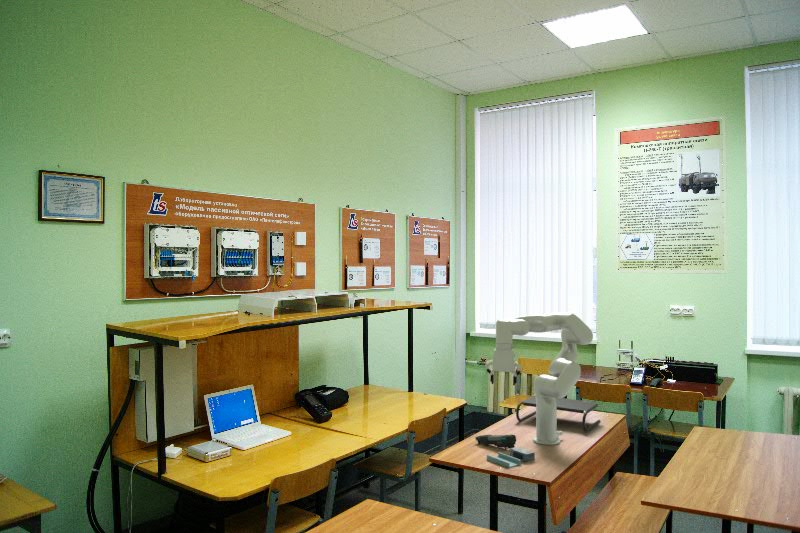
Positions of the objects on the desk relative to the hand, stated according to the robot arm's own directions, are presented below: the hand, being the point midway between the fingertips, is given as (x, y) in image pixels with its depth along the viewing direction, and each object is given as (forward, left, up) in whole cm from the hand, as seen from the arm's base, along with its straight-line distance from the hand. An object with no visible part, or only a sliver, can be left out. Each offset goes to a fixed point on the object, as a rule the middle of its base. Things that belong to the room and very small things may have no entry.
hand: (503, 384), depth 261 cm
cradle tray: (+12, +13, -30) cm, 35 cm away
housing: (+2, +14, -30) cm, 33 cm away
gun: (0, -4, -30) cm, 30 cm away
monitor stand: (-57, -17, -30) cm, 67 cm away
